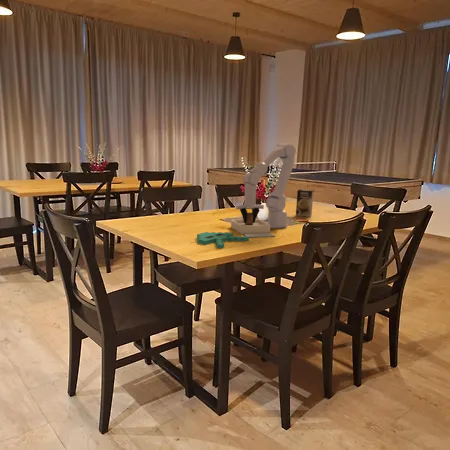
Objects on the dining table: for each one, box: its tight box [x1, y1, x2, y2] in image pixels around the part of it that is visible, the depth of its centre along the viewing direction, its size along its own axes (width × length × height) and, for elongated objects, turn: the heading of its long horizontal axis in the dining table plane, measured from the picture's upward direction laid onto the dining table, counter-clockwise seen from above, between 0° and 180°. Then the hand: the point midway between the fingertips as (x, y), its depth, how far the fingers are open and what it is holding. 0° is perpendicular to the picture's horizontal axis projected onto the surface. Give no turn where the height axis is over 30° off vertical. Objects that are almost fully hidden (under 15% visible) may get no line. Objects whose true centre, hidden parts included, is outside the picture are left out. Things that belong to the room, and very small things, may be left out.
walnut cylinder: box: [245, 211, 253, 225], centre depth 211 cm, size 4×4×6 cm
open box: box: [230, 218, 271, 235], centre depth 210 cm, size 16×16×4 cm
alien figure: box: [196, 231, 250, 250], centre depth 187 cm, size 20×2×20 cm
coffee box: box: [295, 188, 315, 218], centre depth 253 cm, size 9×6×16 cm
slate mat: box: [242, 232, 276, 239], centre depth 199 cm, size 14×7×1 cm, turn 106°
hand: (249, 222), depth 211 cm, fingers closed on walnut cylinder, 4 cm apart
